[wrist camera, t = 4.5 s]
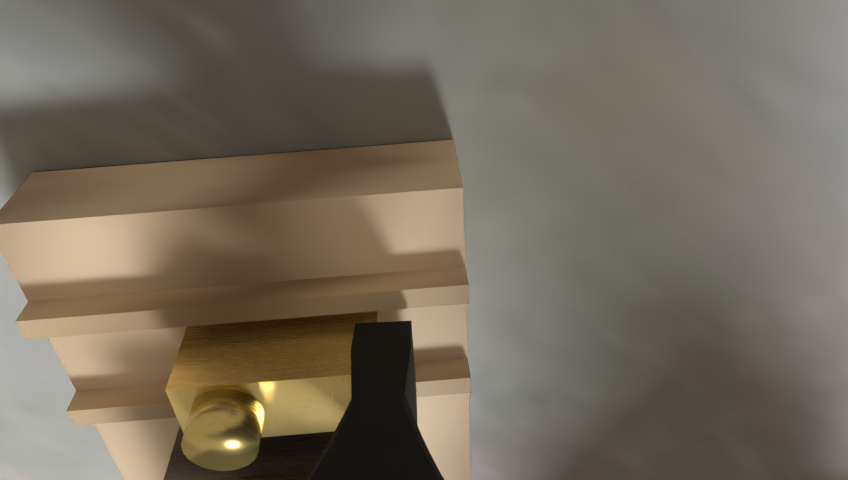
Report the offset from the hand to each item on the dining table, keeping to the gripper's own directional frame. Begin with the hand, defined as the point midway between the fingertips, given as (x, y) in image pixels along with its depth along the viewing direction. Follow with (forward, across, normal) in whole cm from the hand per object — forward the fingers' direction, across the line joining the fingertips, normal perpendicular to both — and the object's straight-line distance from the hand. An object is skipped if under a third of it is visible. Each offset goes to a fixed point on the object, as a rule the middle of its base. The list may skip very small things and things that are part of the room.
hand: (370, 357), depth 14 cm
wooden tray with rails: (+3, +2, +2) cm, 4 cm away
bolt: (+1, +2, 0) cm, 2 cm away
